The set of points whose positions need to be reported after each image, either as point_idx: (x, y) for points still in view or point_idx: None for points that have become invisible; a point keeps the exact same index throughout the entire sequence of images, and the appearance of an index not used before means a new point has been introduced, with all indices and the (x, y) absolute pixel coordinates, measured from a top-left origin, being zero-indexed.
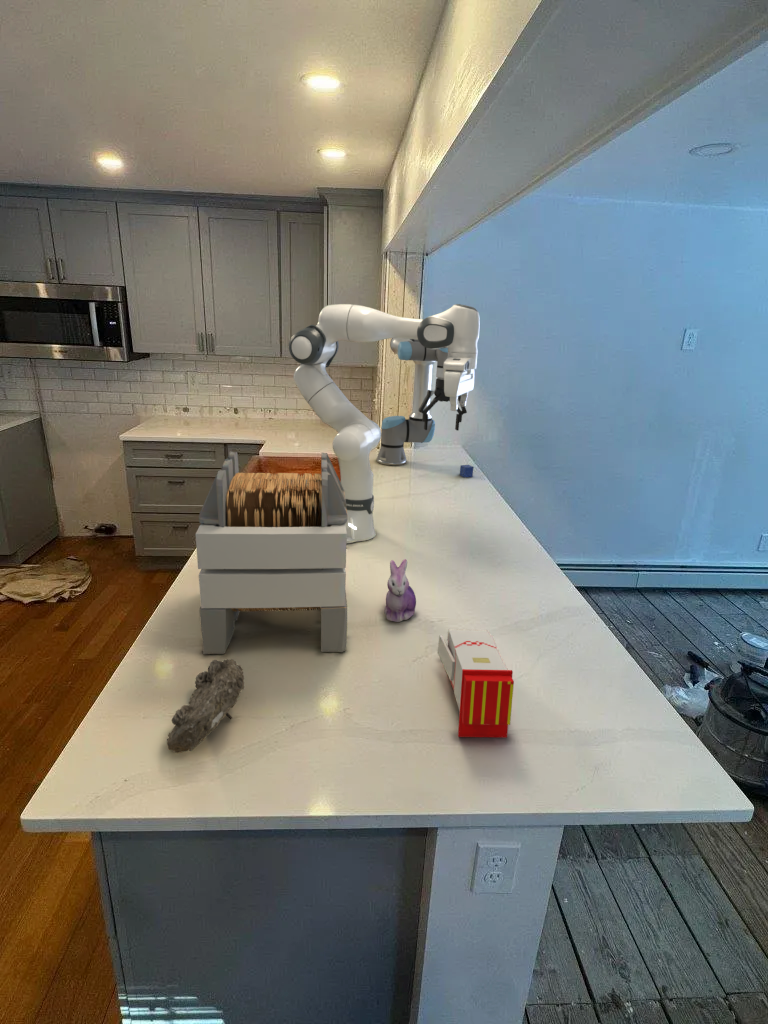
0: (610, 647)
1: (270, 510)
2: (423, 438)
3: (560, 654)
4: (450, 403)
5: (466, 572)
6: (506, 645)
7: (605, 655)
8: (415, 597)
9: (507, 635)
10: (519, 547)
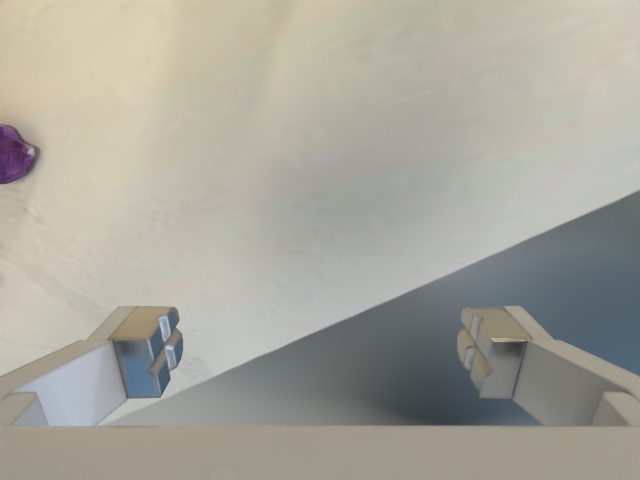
0: (131, 407)
1: None
2: None
3: None
4: (56, 351)
5: (226, 210)
6: (47, 312)
7: None
8: (5, 181)
9: (71, 309)
10: (393, 270)
